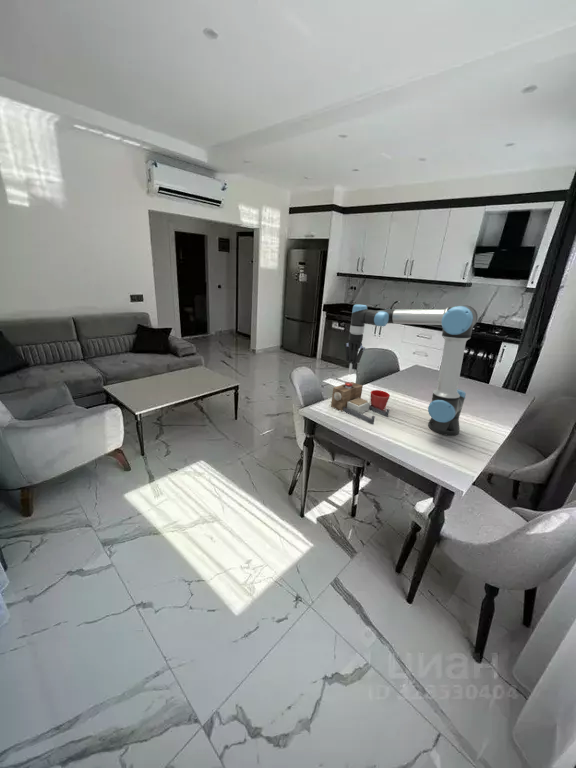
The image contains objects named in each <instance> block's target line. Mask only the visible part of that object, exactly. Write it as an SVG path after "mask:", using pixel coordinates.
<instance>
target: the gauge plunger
mask: <svg viewBox="0 0 576 768" xmlns="http://www.w3.org/2000/svg"><path fill="white" fill-rule="evenodd" d="M344 384H345V387H346V388H348V389H350V388H351V387H352V385H353V384H352V383H350V382H348V381H345V382H344Z"/></svg>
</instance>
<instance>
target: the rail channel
mask: <svg viewBox="0 0 576 768" xmlns="http://www.w3.org/2000/svg"><path fill="white" fill-rule="evenodd" d="M368 411H371V412H373V413H376V414H379V415H381V416H383V417H386V418H389V414H390V409H389V408H386V411H385V409H384V410H381V409H379V408H376V407H374V406H371V404H370V406H369V410H368ZM342 412H344V413H346V414H348V415H351V416H352V417H356V418H357V419H360V420H362V421H364V422H366V423H368V424H370V425H374V424H375V418H376V416H374V415H371V417H370V416H367V415H365V414H363V413H361V414H360V413H358V412H356V411H354V410H351V409H349V408H347V407H343V411H342Z"/></svg>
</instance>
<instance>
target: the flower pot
mask: <svg viewBox="0 0 576 768" xmlns="http://www.w3.org/2000/svg"><path fill="white" fill-rule="evenodd" d="M389 399H390V393H389V392H387V391H384V390H380V389H374V390H371V391H370V405H371V406H374V407H376V408H379V409H381V410H384V411H385V408H386V406H387V404H388V401H389Z"/></svg>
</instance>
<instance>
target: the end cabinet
mask: <svg viewBox="0 0 576 768" xmlns="http://www.w3.org/2000/svg"><path fill="white" fill-rule="evenodd" d="M350 383H352V384H353V385H352V387H351V388H350V389H348V388H346V387H345V383H344V384H340V385H338V386H334V387H333V388H332V396H331V403H330V407H332V408H333V409H335V410H338V411H339V412H344V411H343V407H347V402H349V401H351V400H354V399H357V398H361V399H362V393H363V387H364V386H363V385H362V384H358V383H356V382H353V381H351V382H350Z"/></svg>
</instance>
